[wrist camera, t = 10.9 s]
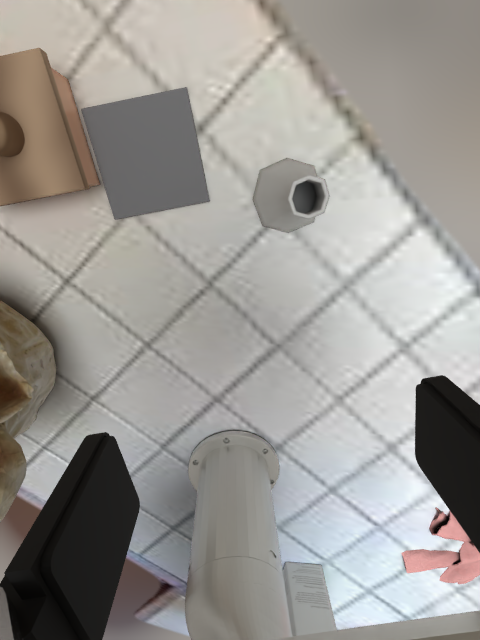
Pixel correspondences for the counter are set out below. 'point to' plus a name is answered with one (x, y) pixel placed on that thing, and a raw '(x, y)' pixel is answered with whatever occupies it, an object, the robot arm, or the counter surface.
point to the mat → (147, 153)
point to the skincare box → (307, 599)
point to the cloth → (447, 553)
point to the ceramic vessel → (20, 393)
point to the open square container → (76, 128)
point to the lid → (34, 132)
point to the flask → (289, 195)
